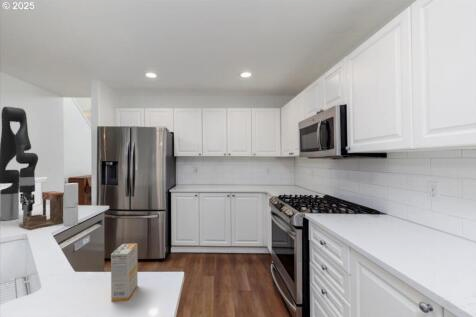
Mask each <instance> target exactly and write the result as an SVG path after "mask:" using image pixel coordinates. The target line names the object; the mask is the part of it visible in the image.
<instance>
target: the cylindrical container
mask: <svg viewBox="0 0 476 317" xmlns="http://www.w3.org/2000/svg"><path fill="white" fill-rule="evenodd" d="M63 192H64V214H63V226H64V227H73V226H77V225H79V182H71V183H70V182H69V183H63Z"/></svg>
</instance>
